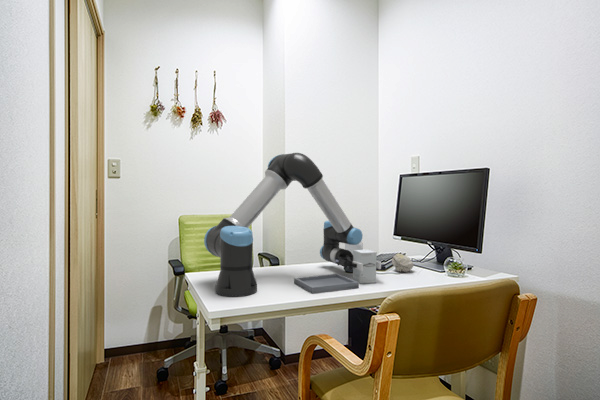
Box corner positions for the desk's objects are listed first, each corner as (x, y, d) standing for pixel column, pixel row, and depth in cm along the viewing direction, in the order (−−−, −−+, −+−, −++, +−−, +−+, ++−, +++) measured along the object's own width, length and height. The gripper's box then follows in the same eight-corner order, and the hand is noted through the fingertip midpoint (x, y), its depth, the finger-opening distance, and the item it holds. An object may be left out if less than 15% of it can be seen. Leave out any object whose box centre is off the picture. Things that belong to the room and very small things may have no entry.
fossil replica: (409, 268, 182) (388, 270, 181) (407, 251, 182) (387, 253, 182) (418, 272, 170) (396, 274, 169) (416, 253, 170) (394, 255, 170)
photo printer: (343, 261, 198) (343, 238, 197) (349, 260, 200) (349, 237, 200) (358, 264, 190) (358, 240, 189) (363, 263, 192) (364, 239, 192)
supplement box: (359, 284, 150) (360, 252, 150) (352, 279, 157) (352, 249, 157) (376, 283, 152) (377, 251, 152) (368, 278, 159) (368, 249, 159)
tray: (312, 293, 136) (312, 287, 136) (294, 283, 150) (294, 278, 150) (358, 288, 144) (358, 282, 144) (337, 278, 159) (337, 273, 159)
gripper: (360, 263, 175) (392, 273, 155) (321, 267, 167) (349, 278, 146) (361, 247, 175) (392, 255, 155) (321, 250, 167) (349, 259, 146)
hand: (371, 266), depth 150 cm, fingers closed on supplement box, 8 cm apart
